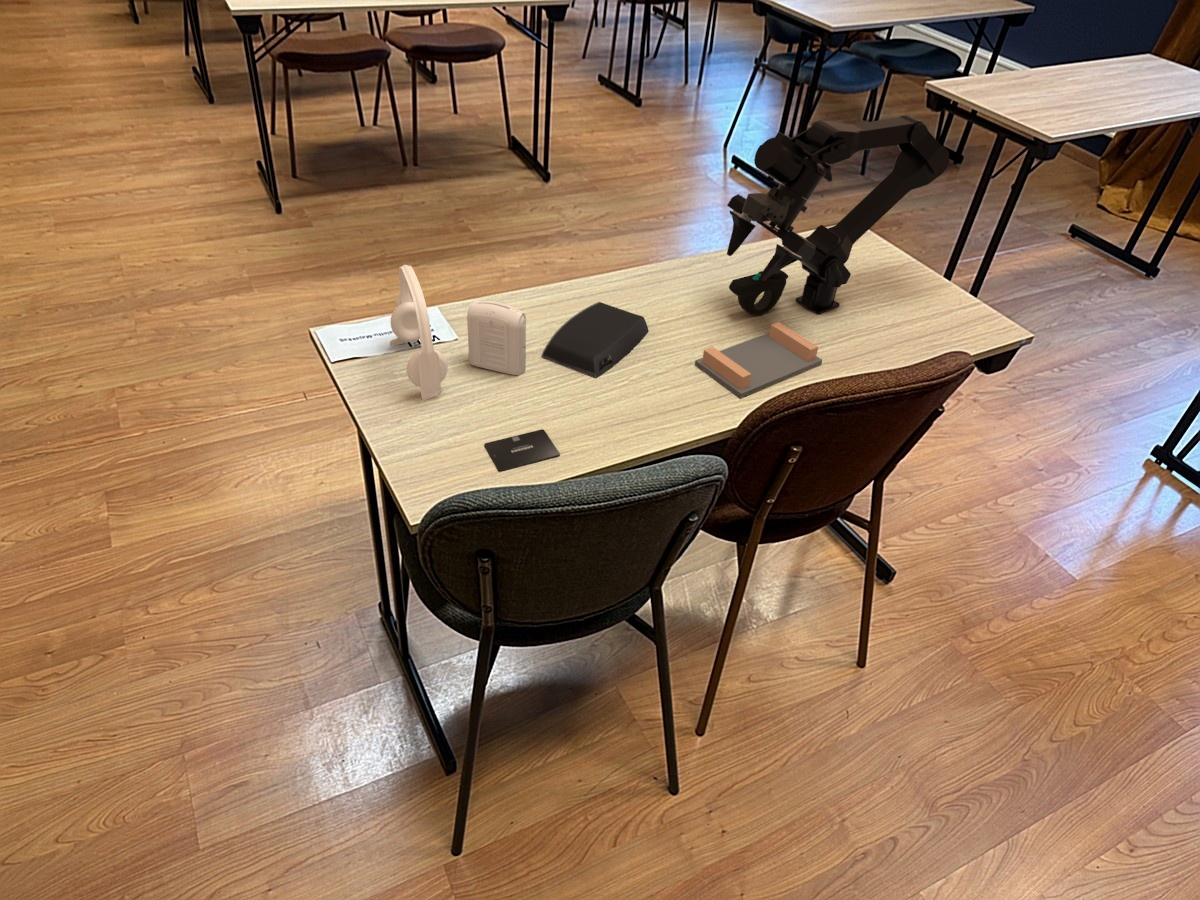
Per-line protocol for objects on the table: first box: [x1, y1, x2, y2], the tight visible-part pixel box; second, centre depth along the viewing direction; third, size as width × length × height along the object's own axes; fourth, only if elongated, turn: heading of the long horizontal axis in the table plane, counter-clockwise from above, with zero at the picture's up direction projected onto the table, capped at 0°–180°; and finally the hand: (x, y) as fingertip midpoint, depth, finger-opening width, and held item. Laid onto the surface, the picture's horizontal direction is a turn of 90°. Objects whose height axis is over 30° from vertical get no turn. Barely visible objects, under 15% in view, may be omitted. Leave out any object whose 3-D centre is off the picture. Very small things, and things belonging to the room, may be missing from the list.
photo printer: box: [466, 300, 527, 376], centre depth 143 cm, size 10×4×12 cm, turn 72°
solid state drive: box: [483, 429, 561, 473], centre depth 129 cm, size 7×10×1 cm
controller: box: [728, 269, 789, 316], centre depth 162 cm, size 4×12×10 cm, turn 119°
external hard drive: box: [540, 301, 649, 379], centre depth 153 cm, size 13×19×4 cm
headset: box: [389, 264, 449, 401], centre depth 139 cm, size 20×7×18 cm, turn 20°
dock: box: [694, 321, 823, 399], centre depth 150 cm, size 20×12×4 cm, turn 125°
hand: (744, 267), depth 155 cm, fingers open, 9 cm apart
